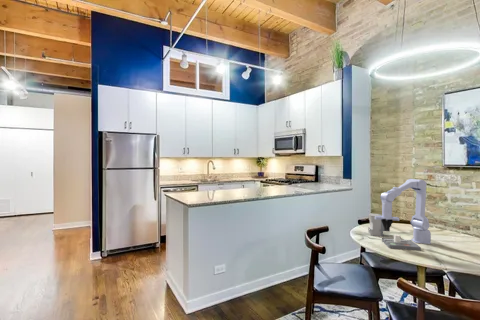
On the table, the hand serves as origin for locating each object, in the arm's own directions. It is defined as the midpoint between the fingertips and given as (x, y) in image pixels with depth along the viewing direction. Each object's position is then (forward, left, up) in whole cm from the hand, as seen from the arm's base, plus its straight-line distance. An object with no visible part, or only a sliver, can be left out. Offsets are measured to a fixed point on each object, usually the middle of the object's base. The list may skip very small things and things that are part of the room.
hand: (386, 230), depth 171 cm
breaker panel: (-9, 0, -9) cm, 13 cm away
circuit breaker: (-3, -23, -10) cm, 25 cm away
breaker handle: (-7, 0, -7) cm, 10 cm away
